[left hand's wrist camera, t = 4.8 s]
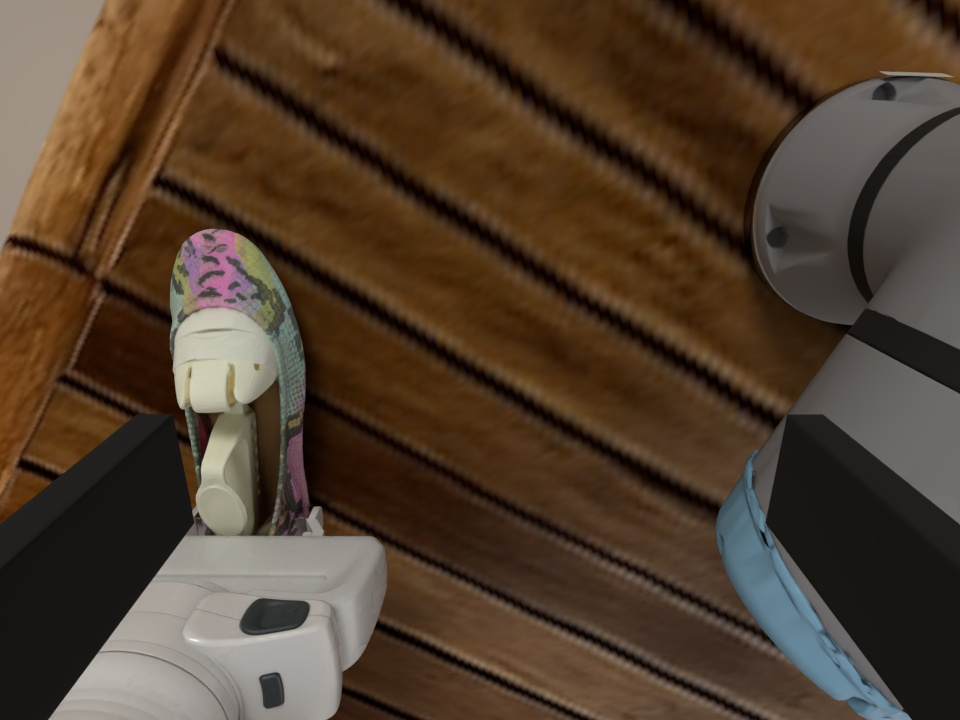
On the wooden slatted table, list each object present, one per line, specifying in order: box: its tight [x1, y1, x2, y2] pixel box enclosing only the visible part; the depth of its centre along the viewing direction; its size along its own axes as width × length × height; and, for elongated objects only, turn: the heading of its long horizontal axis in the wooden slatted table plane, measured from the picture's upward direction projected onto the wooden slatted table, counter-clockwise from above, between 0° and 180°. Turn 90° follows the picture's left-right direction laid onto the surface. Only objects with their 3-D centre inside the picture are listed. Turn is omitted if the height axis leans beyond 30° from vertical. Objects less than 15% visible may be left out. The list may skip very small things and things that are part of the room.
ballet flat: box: [170, 229, 310, 536], centre depth 39 cm, size 8×24×9 cm, turn 0°
